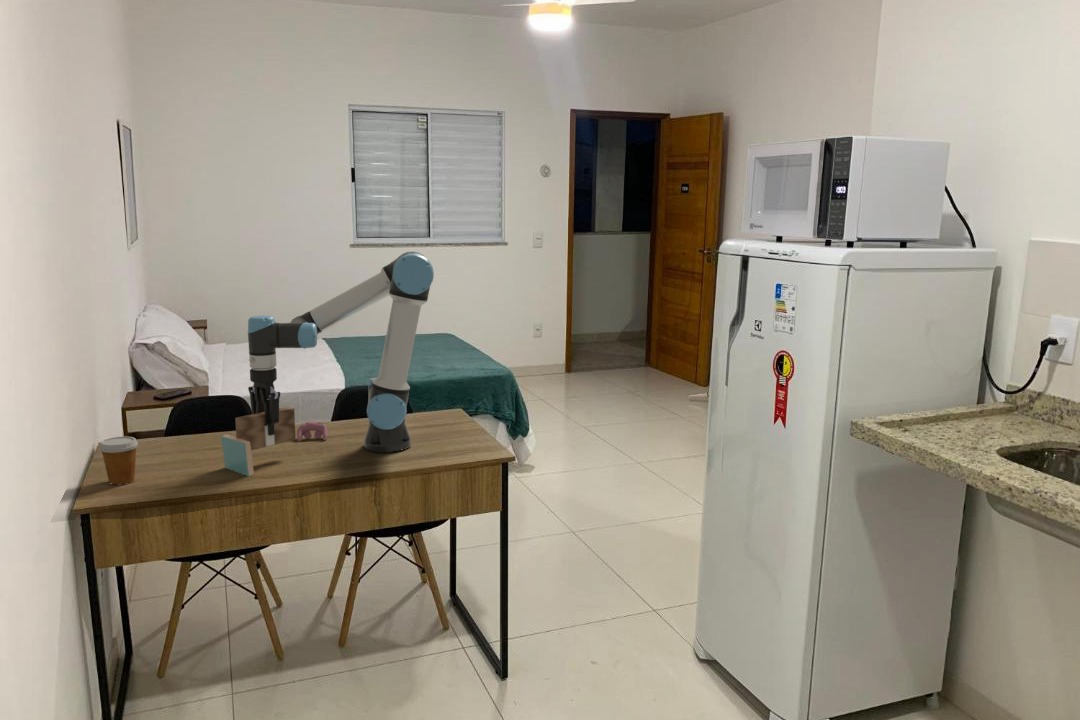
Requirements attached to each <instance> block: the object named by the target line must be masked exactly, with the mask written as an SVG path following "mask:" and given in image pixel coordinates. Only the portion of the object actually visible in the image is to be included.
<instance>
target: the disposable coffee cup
mask: <svg viewBox="0 0 1080 720" xmlns="http://www.w3.org/2000/svg"><path fill="white" fill-rule="evenodd" d="M138 445H139V442H138V441H137V439H136V438H135V437H133V436H116V437H109V438H106V439H104V440H102V441H100V445H99V449H100V451H101V454H102V458H103V462H104V467H105V470H106V475H107V479H108V483H112V484H125V485H127V484H126V483H129V484H132V483H134V481H135V478H136V477H135V476H136V459H137V457H136V456H137V447H138Z"/></svg>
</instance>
